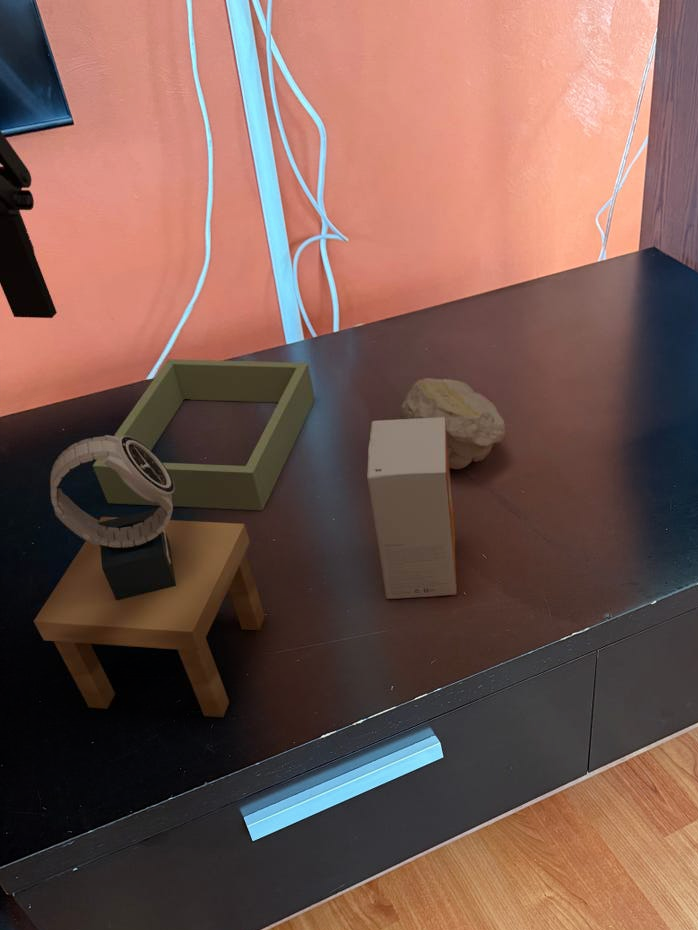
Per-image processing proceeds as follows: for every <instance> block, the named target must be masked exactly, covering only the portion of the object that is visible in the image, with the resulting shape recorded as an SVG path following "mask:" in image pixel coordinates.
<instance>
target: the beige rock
mask: <svg viewBox="0 0 698 930" xmlns="http://www.w3.org/2000/svg"><path fill="white" fill-rule="evenodd" d="M400 407H401V408H400V419H419V418H438V417H445V418H446V428H447V445H448V457H449V469H452V470H462V469H464V468H466V467H468V465H469V464H470V463H472V461H473V462H475V463H476V462H479V461H483V460H484V458H486V457H487V456H488V455H489V454H490V452H491V451H492V447H493V445H494V444H498V443H501V442H503V440H504V438H505V436H506V424H505V420H504V418H503V417H502V416H501V414H499V411H498V409H497V406H495V404H494V403H493V402H491V401H490V399H488V398H486V397H485V396H483V394H481V393H479V392H475V391H474V389H472V388H471V386H470V385H468V384H467V383H465V382H463V381H459V380H457V379H449V378H441V379H439V378H438V379H437V378H432V377H425V378H424V379H419V380H417V381H416V382H415V383H413V385H412V387H411V388H410V389H409V391H408V392H407V394H406V396H405V400H404V401H403V402H402V404H401V406H400Z"/></svg>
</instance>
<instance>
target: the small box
mask: <svg viewBox="0 0 698 930" xmlns="http://www.w3.org/2000/svg"><path fill="white" fill-rule="evenodd" d="M369 434H370V435H369V441H368V442H369V443H368V448H367V449H368V451H367V453H368V454H367V473H366V479H367V480H366V481H367V485H368V493H369V499H370V505H371V511H372V517H373V518H372V519H373V523H374V524H373V525H374V530H375V536H376V541H377V548H378V554H379V560H380V567H381V573H382V575H381V576H382V580H383V581H382V582H383V589H384V595H385V598H386V599H388V600H392V599H393V600H394V599H410V598H411V599H412V598H426V597H440V596H441V597H442V596H456V595H457V594H458V587H457V571H456V532H455V522H454V521H455V519H454V507H453V499H452V498H453V497H452V484H451V483H452V482H451V471H450V468H449V457H448V445H447V428H446V418H445V417H438V418H419V419H402V418H400V419H384V420H383V419H380V420H372V422H371V426H370V433H369Z"/></svg>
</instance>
